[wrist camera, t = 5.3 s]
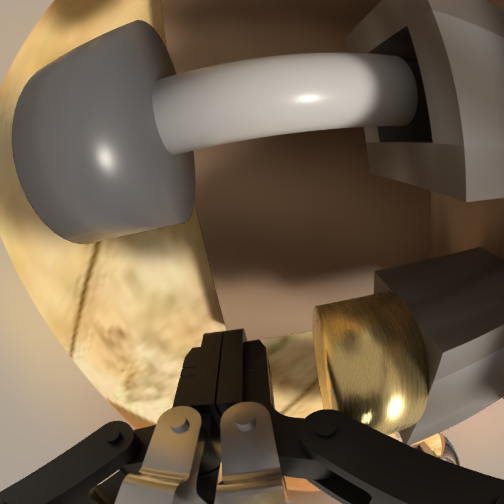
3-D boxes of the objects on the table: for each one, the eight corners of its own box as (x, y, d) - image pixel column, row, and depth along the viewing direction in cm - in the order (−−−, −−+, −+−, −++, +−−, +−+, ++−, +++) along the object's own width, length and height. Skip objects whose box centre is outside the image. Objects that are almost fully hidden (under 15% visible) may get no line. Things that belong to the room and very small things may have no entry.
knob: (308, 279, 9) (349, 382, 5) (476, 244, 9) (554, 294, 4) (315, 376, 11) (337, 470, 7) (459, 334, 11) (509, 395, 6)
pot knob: (106, 82, 7) (6, 50, 2) (346, 36, 7) (418, -34, 2) (131, 217, 9) (41, 280, 4) (371, 175, 8) (472, 208, 4)
